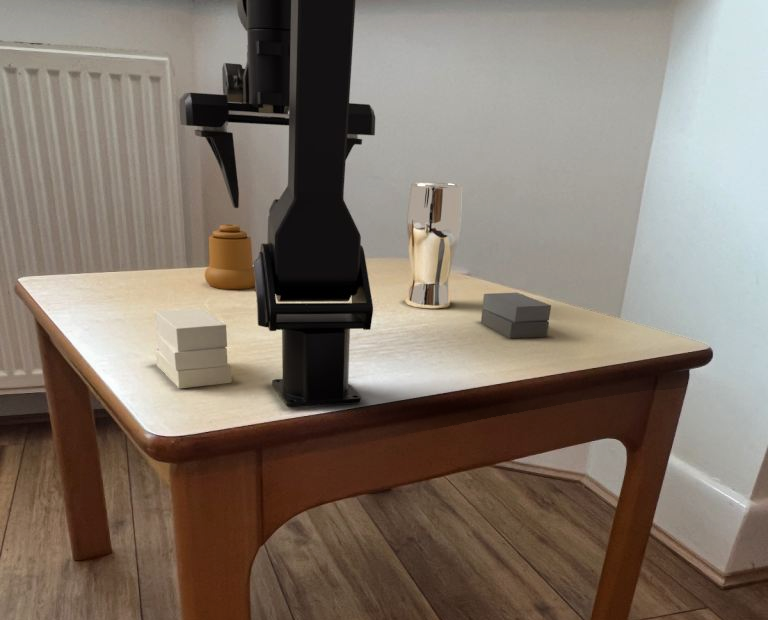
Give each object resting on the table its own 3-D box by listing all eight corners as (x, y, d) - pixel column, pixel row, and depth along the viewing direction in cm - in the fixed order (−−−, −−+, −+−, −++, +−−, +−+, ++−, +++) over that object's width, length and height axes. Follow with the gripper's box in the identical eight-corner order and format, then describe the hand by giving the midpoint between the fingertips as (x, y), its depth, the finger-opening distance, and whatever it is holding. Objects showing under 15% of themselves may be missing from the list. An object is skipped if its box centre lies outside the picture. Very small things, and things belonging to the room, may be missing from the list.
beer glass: (393, 304, 100) (400, 182, 93) (415, 296, 106) (423, 181, 99) (440, 312, 97) (451, 187, 90) (460, 303, 103) (472, 185, 96)
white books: (232, 383, 67) (231, 348, 66) (178, 389, 65) (175, 353, 63) (206, 360, 73) (204, 328, 71) (155, 365, 70) (152, 332, 69)
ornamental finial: (267, 283, 108) (243, 292, 102) (221, 278, 110) (195, 286, 104) (266, 225, 105) (241, 230, 98) (218, 220, 107) (191, 225, 100)
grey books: (548, 336, 88) (553, 306, 87) (509, 338, 87) (513, 307, 85) (516, 321, 95) (520, 292, 93) (479, 322, 93) (482, 293, 92)
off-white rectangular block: (227, 347, 66) (226, 324, 65) (178, 351, 64) (176, 328, 63) (202, 328, 71) (201, 307, 70) (156, 332, 69) (154, 310, 68)
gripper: (346, 47, 81) (342, 202, 88) (168, 30, 75) (180, 198, 82) (380, 39, 71) (373, 213, 79) (180, 19, 65) (192, 210, 73)
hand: (279, 208), depth 78 cm, fingers open, 9 cm apart
